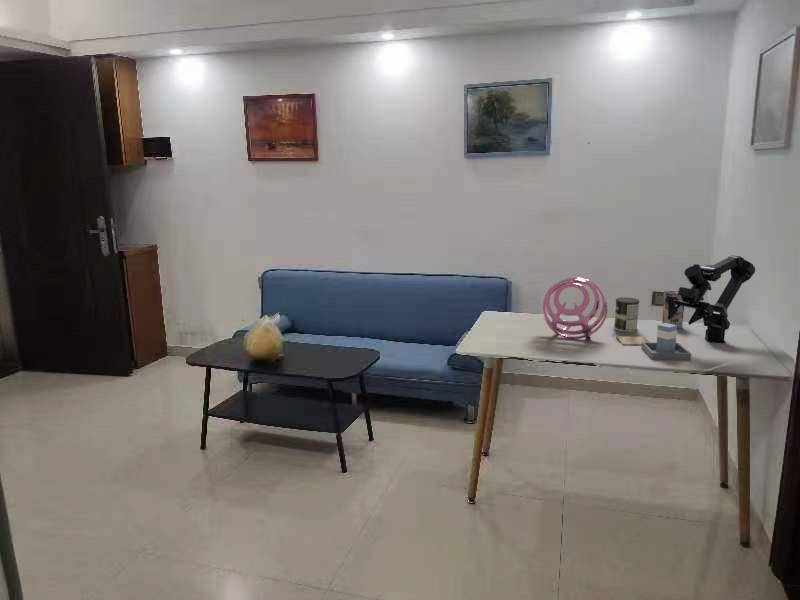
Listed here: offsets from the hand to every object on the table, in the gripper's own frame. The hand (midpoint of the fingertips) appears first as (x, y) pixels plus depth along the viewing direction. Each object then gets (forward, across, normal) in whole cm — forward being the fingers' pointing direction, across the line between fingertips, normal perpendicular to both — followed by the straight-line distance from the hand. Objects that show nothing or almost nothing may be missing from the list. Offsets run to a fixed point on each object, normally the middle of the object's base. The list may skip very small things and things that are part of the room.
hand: (678, 321), depth 237 cm
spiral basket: (+22, -40, -3) cm, 46 cm away
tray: (+14, 0, +4) cm, 15 cm away
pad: (+11, -18, +7) cm, 23 cm away
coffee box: (-15, -26, +34) cm, 45 cm away
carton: (+14, 0, +4) cm, 14 cm away
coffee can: (+1, -34, +18) cm, 39 cm away
